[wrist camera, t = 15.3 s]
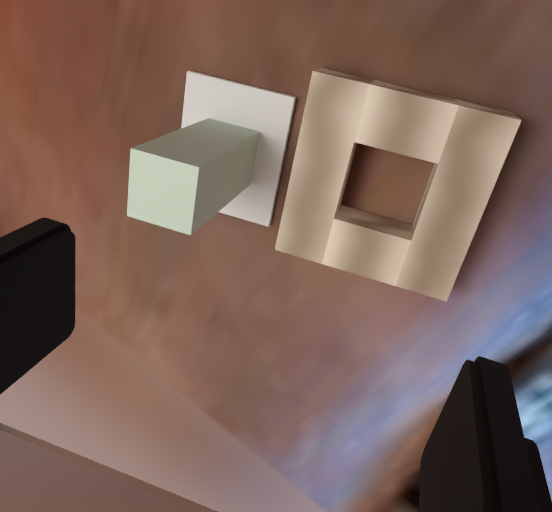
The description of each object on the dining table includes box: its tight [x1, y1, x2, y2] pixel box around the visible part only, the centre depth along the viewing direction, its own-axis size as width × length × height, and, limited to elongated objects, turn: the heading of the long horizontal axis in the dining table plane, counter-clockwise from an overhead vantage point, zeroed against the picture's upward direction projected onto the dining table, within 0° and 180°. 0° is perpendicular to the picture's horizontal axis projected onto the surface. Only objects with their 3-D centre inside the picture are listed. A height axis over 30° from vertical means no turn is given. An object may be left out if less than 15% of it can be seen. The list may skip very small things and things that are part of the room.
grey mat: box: [181, 71, 296, 227], centre depth 41 cm, size 9×11×1 cm
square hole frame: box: [275, 68, 521, 302], centre depth 38 cm, size 14×14×4 cm
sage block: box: [127, 118, 260, 235], centre depth 36 cm, size 4×4×12 cm
